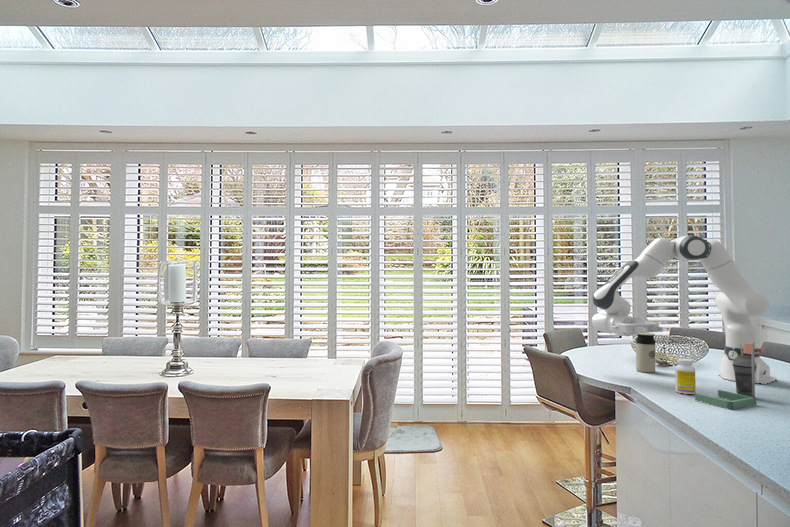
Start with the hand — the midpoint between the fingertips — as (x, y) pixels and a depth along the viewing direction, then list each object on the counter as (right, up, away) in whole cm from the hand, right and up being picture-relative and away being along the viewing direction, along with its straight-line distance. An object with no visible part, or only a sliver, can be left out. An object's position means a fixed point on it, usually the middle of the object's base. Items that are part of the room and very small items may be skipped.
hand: (654, 330), depth 190 cm
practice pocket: (+11, -22, -25) cm, 35 cm away
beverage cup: (+24, -23, -17) cm, 37 cm away
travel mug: (+11, -24, +28) cm, 38 cm away
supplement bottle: (+5, -23, -12) cm, 26 cm away
